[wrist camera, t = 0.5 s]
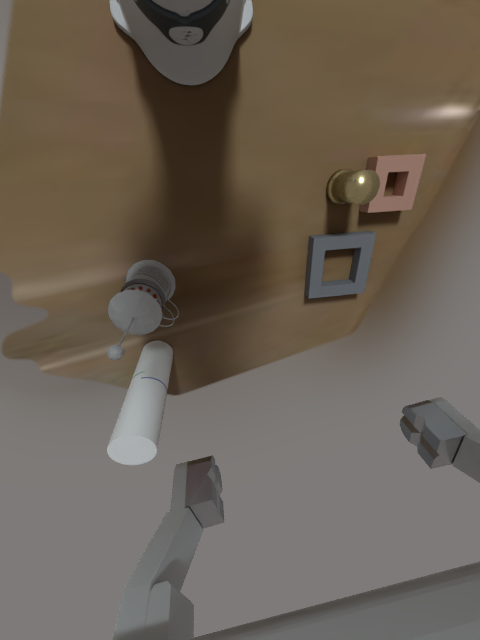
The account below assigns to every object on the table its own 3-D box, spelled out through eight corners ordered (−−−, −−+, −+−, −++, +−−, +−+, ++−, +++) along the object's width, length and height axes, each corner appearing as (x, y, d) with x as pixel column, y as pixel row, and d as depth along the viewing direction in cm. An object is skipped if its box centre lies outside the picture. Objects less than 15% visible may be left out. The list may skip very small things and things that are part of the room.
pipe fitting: (328, 170, 45) (351, 167, 38) (358, 168, 46) (386, 165, 39) (324, 204, 48) (345, 208, 41) (352, 203, 49) (377, 206, 42)
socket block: (309, 235, 51) (314, 238, 48) (369, 231, 52) (376, 233, 50) (304, 294, 57) (308, 298, 55) (357, 288, 58) (363, 292, 56)
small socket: (368, 157, 45) (378, 156, 42) (413, 155, 46) (426, 153, 43) (359, 211, 49) (367, 212, 47) (400, 208, 50) (411, 209, 48)
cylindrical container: (174, 364, 61) (158, 462, 40) (144, 365, 60) (111, 467, 39) (172, 340, 58) (154, 433, 36) (140, 341, 57) (102, 437, 35)
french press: (139, 249, 47) (87, 304, 26) (192, 281, 52) (184, 351, 30) (117, 289, 51) (54, 368, 29) (168, 316, 55) (147, 402, 33)
